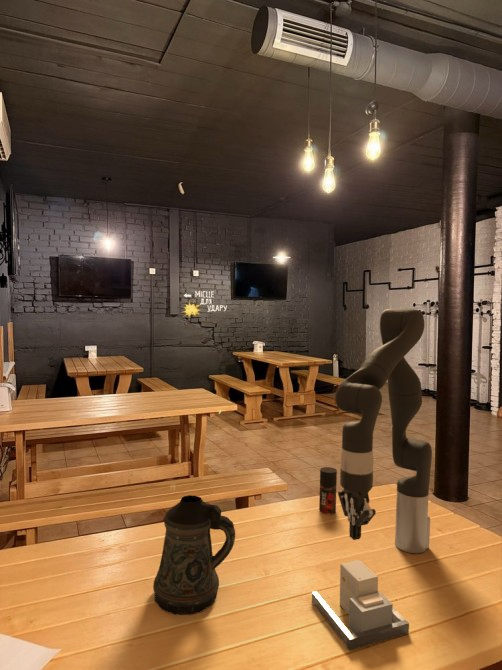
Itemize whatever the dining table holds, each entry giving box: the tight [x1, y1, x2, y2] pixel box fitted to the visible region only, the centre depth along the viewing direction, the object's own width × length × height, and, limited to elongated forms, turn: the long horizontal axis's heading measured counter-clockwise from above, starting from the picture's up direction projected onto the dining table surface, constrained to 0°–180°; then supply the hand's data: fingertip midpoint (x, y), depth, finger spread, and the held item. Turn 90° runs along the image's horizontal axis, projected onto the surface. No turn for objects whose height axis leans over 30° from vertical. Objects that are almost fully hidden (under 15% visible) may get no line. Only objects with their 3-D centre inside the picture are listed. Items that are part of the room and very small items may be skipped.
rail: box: [311, 590, 410, 652], centre depth 108 cm, size 15×17×2 cm
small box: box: [339, 559, 379, 615], centre depth 110 cm, size 8×6×10 cm
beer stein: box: [152, 495, 236, 616], centre depth 116 cm, size 16×19×25 cm
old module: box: [348, 590, 394, 634], centre depth 104 cm, size 8×5×8 cm, turn 110°
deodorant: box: [318, 466, 338, 515], centre depth 165 cm, size 6×6×15 cm
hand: (354, 537), depth 109 cm, fingers closed
